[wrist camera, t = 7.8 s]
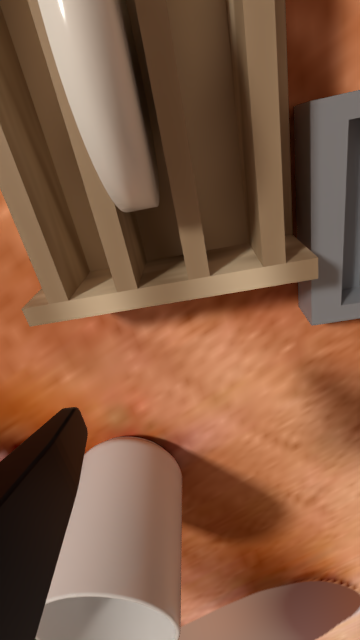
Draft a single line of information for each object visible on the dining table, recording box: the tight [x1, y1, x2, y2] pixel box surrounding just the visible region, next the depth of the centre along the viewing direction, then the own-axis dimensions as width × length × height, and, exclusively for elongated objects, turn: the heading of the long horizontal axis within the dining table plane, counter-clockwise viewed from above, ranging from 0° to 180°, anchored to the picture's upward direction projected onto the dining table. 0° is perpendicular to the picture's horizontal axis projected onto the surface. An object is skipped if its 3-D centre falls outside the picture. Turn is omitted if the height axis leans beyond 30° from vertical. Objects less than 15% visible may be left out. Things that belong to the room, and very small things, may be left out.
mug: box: [35, 436, 182, 640], centre depth 24 cm, size 12×9×11 cm
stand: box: [294, 90, 360, 325], centre depth 17 cm, size 5×11×2 cm, turn 11°
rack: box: [0, 0, 318, 326], centre depth 14 cm, size 14×18×5 cm
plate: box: [38, 0, 160, 212], centre depth 11 cm, size 1×9×9 cm, turn 11°
